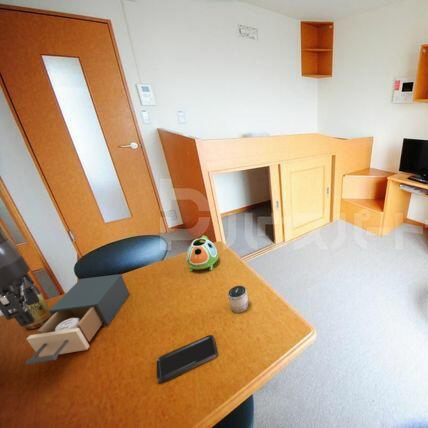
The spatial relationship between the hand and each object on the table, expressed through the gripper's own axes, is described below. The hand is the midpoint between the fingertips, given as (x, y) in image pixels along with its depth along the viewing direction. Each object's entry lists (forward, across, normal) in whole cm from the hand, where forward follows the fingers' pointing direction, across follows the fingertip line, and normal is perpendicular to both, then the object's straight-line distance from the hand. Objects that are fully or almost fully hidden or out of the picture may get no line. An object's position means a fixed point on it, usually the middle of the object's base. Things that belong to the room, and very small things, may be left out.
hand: (31, 313), depth 60 cm
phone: (+18, +23, +27) cm, 40 cm away
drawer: (+17, -4, +2) cm, 18 cm away
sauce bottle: (+18, -22, -6) cm, 29 cm away
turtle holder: (+18, -21, +46) cm, 53 cm away
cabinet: (+18, -15, +8) cm, 25 cm away
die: (+16, -5, +3) cm, 17 cm away
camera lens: (+18, +14, +47) cm, 52 cm away
